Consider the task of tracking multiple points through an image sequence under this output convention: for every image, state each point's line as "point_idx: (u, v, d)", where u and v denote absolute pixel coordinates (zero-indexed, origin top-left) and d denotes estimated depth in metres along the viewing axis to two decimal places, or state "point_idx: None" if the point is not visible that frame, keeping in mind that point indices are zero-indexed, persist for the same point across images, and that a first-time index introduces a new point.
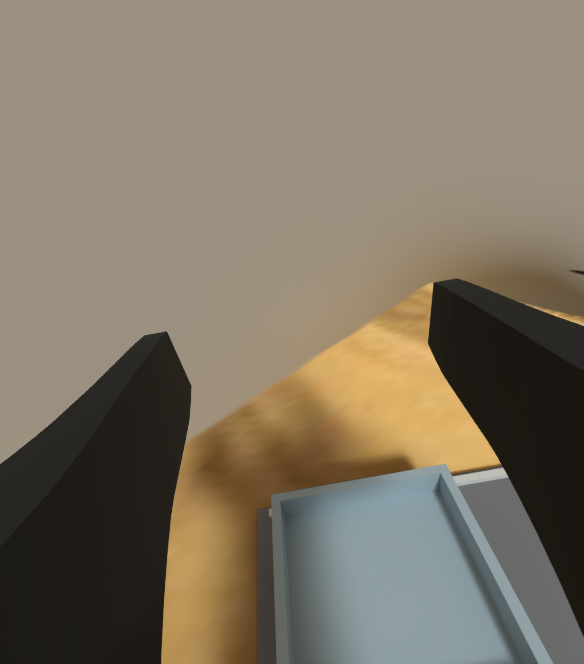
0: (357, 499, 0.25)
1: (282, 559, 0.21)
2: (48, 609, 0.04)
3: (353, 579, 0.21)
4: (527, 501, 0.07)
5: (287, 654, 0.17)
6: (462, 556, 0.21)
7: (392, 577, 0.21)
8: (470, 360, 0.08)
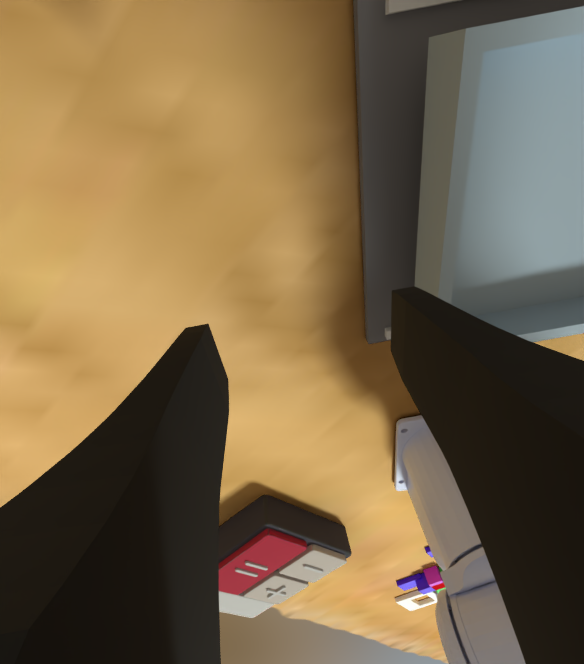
0: None
1: (464, 186, 0.12)
2: (138, 593, 0.04)
3: (533, 177, 0.14)
4: (473, 510, 0.07)
5: (450, 293, 0.15)
6: None
7: None
8: (423, 368, 0.08)
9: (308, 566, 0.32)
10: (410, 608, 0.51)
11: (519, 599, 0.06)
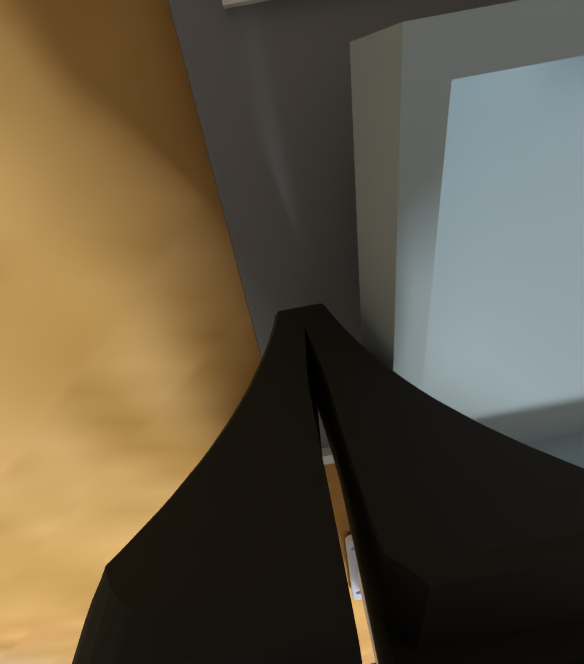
0: None
1: (423, 331, 0.06)
2: None
3: (551, 281, 0.08)
4: (351, 532, 0.07)
5: None
6: None
7: None
8: (317, 387, 0.08)
9: None
10: None
11: (372, 625, 0.06)
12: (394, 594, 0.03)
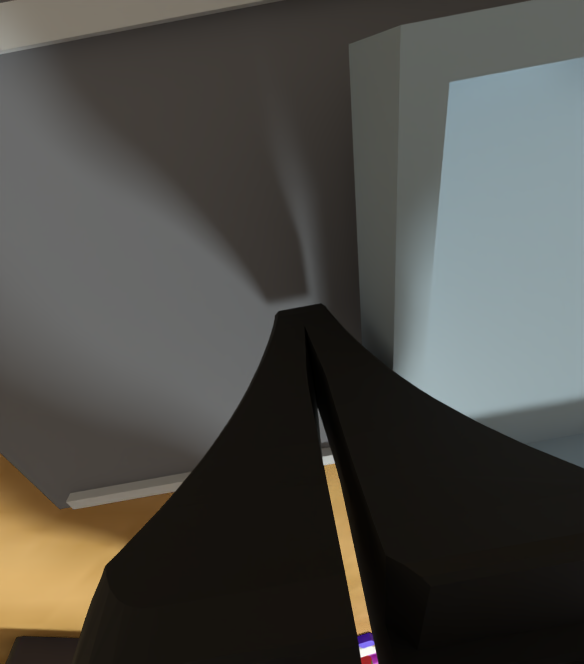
0: None
1: (423, 331, 0.06)
2: None
3: (550, 281, 0.08)
4: (351, 531, 0.07)
5: None
6: None
7: None
8: (318, 387, 0.08)
9: None
10: None
11: (372, 624, 0.06)
12: (392, 593, 0.03)
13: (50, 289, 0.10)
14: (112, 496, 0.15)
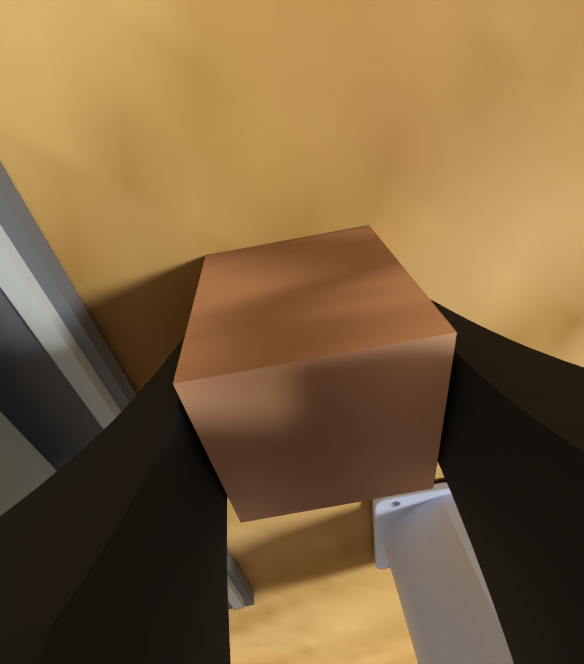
0: None
1: None
2: (153, 591, 0.04)
3: None
4: (463, 512, 0.07)
5: None
6: None
7: None
8: None
9: None
10: None
11: (507, 601, 0.06)
12: None
13: None
14: (229, 597, 0.21)
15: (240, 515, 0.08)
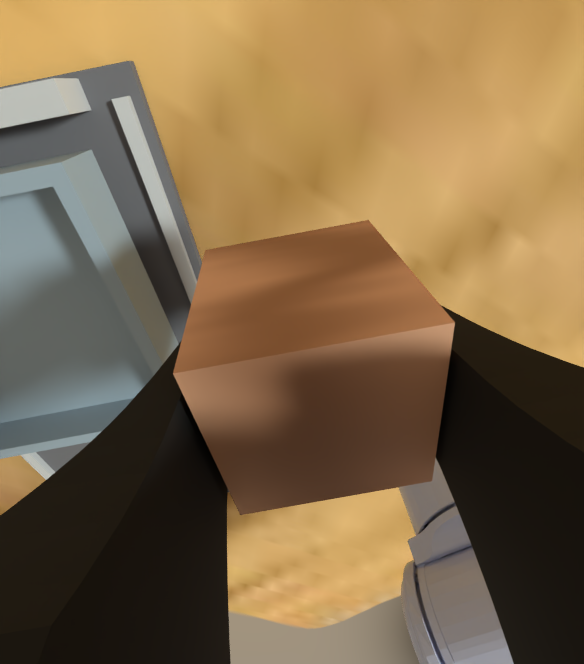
0: None
1: (34, 444, 0.18)
2: (153, 591, 0.04)
3: (22, 357, 0.17)
4: (463, 512, 0.07)
5: None
6: None
7: None
8: None
9: None
10: None
11: (507, 601, 0.06)
12: None
13: None
14: None
15: (240, 507, 0.08)
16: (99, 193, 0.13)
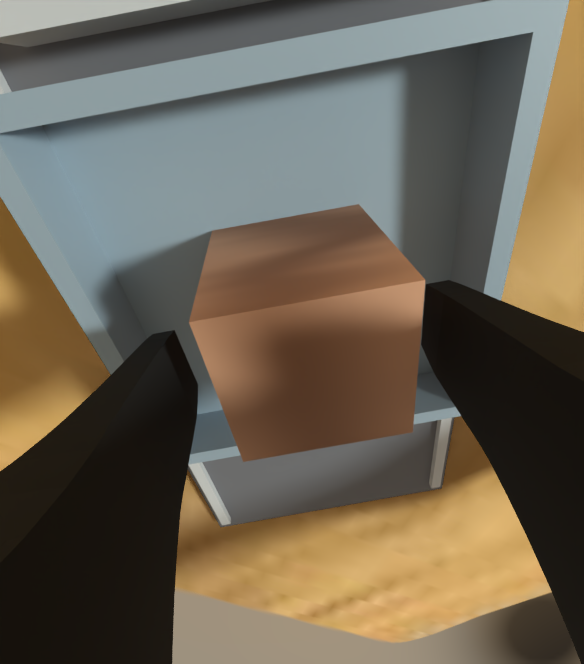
0: (131, 326, 0.12)
1: None
2: (65, 606, 0.04)
3: None
4: (517, 503, 0.07)
5: None
6: (216, 114, 0.09)
7: None
8: (461, 361, 0.08)
9: None
10: None
11: (573, 589, 0.06)
12: None
13: (290, 471, 0.22)
14: (436, 472, 0.23)
15: (243, 454, 0.09)
16: None
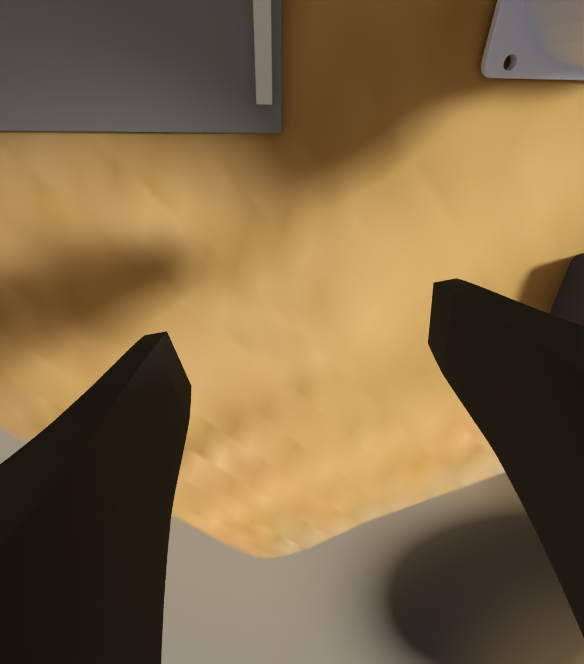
0: None
1: None
2: (48, 609, 0.04)
3: None
4: (526, 501, 0.07)
5: None
6: None
7: None
8: (470, 360, 0.08)
9: None
10: None
11: None
12: None
13: None
14: (260, 41, 0.13)
15: None
16: None
